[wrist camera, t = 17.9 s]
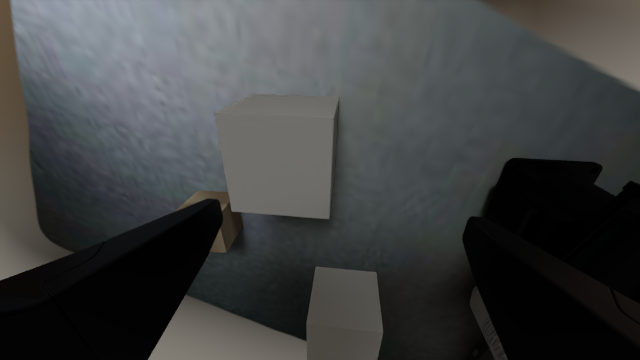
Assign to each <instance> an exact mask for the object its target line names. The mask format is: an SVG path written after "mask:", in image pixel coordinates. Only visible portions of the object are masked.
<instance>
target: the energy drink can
mask: <svg viewBox="0 0 640 360" xmlns="http://www.w3.org/2000/svg"><path fill="white" fill-rule="evenodd" d="M470 307H471V309H472V311H473V314H474V316H475V318H476V320H477V322H478V325H479V327H480V329H481V331H482V333H483V335H484V338H485V340H486V342H487V344H488V346H489V348H490V351H491V353H492V355H493V357H494V359H495V360H508V359H507V357H506V355H505V352H504V350H503V347H502V345H501V343H500V340H499V338H498V336H497V333H496V331H495V329H494V326H493V324H492V322H491V319H490V317H489V315H488V312H487V310H486V308H485V305H484V303H483V300H482V298H481V296H480V293H479V291H478V289H477V286H475V287H474V289H473V290H472V297H471V299H470Z"/></svg>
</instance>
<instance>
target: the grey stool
mask: <svg viewBox="0 0 640 360" xmlns="http://www.w3.org/2000/svg"><path fill="white" fill-rule="evenodd" d="M306 328H307V360H377V359H378V354H379V350H380V345H381V341H382V336H383V326H382V317H381V308H380V299H379V291H378V282H377V273H376V272H369V271H358V270H348V269H337V268H327V267H316V268H315V274H314V280H313V286H312V292H311V298H310V305H309V311H308V317H307V323H306Z"/></svg>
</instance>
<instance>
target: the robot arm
mask: <svg viewBox="0 0 640 360" xmlns="http://www.w3.org/2000/svg"><path fill="white" fill-rule="evenodd" d="M515 163H517V165H516V166H514V167H513V165H514V164H515ZM592 168H593V169H592ZM591 169H592V170H591ZM590 170H591V171H590ZM601 171H602V166H601V165H600V164H597V163H595V162H582V161H563V160H545V159H527V158H512V159H510V160H509V161H508V162H507V164H506V166H505V169H504V171H503V174H502V176H501V179H500V181H499V183H498V184H497V186H496V188H495V191H494V193H493V196H492V198H491V201H490V203H489V206H488V211H487V213H486V216H485V218H484V217H475V216H471V217H470V218H469V219H468V221H467V224H466V227H465V230H464V233H463V238H462V240H463V244H464V248H465V251H466V255H467V258H468V261H469V265H470V268H471V271H472V275H473V278H474V281H475V284H476V286H477V289H478V291H479V293H480V296H481V298H482V300H483V303H484V305H485V308H486V310H487V312H488V315H489V317H490V319H491V322H492V324H493V326H494V329H495V331H496V333H497V336H498V338H499V340H500V343H501V345H502V347H503V350H504V352H505V355H506V357H507V359H508V360H640V184H638V183H636V182H633V181H629V182H628V183H627V184H626V185H625V186H624V187H623V188H622V189H624V190H623V191H622V192H620V193H619V194H618V195H617V196H614V195H612V194H611V193H609V192H607V191H605V190H604V189H602V188H600V187H598V186H596V185H595V184H594V182H595V181H596V179H597V178H598V176H599V174H600V173H601ZM222 223H223V213H222V209H221V204H220V201H219V200H218V199H212V198H207V199H204V200H202V201H200V202H197V203H195V204H192V205H190V206H187V207H185V208H183V209H180V210H178V211H175V212H173V213H171V214H168V215H166V216H163V217H161V218H158V219H156V220H154V221H151V222H149V223H146V224H144V225H141V226H139V227H137V228H134V229H132V230H129V231H127V232H124V233H122V234H120V235H117V236H115V237H112V238H110V239H107V240H106V241H105V242H104V241H103V242H100V243H98V244H95V245H93V246H90V247H88V248H85V249H83V250H80V251H78V252H75V253H73V254H70V255H68V256H65V257H63V258H60V259H57V260H55V261H52V262H49V263H47V264H44V265H41V266H39V267H36V268H33V269H31V270H28V271H25V272H22V273H20V274H17V275H14V276H11V277H9V278H6V279H3V280H1V281H0V360H148V358H149V357H150V355H151V353H152V351H153V350H154V348H155V346H156V344H157V343H158V341H159V339H160V338H161V336H162V334H163V332H164V331H165V329H166V327H167V326H168V324H169V322H170V320H171V319H172V317H173V315H174V314H175V312H176V310H177V308H178V307H179V305H180V303H181V301H182V300H183V298H184V296H185V295H186V293H187V291H188V289H189V288H190V286H191V284H192V283H193V281H194V279H195V277H196V276H197V274H198V272H199V271H200V269H201V267H202V265H203V264H204V262H205V260H206V258H207V256H208V254H209V252H210V250H211V248H212V246H213V243H214V241H215V239H216V237H217V234H218V232H219V230H220V228H221V225H222Z"/></svg>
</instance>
